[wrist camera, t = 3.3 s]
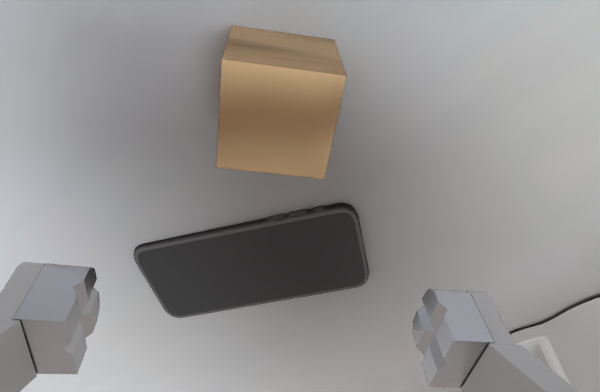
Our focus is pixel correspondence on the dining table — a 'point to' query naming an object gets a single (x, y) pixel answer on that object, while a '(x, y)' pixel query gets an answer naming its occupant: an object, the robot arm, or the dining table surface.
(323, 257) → the smartphone
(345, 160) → the dining table surface
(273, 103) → the oversize block
